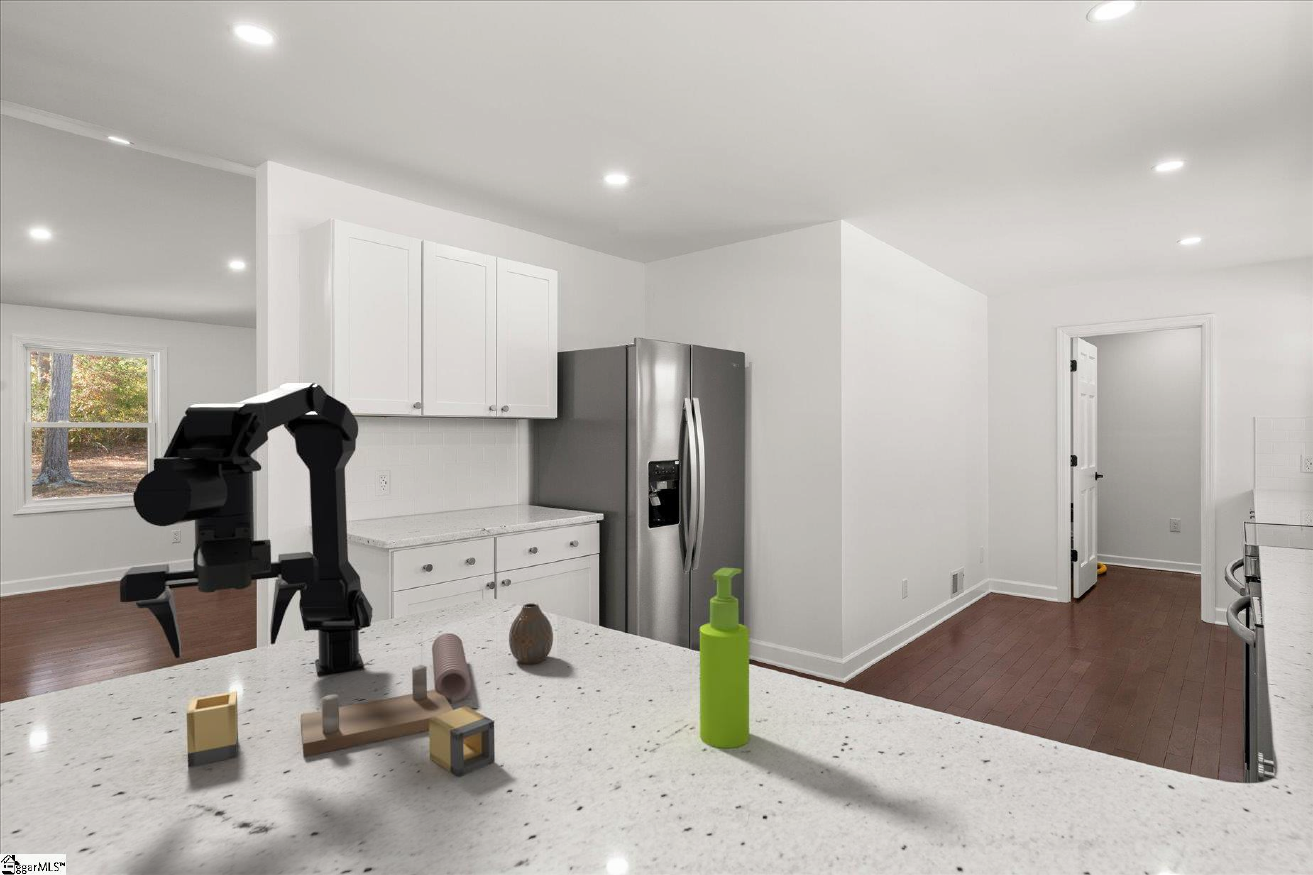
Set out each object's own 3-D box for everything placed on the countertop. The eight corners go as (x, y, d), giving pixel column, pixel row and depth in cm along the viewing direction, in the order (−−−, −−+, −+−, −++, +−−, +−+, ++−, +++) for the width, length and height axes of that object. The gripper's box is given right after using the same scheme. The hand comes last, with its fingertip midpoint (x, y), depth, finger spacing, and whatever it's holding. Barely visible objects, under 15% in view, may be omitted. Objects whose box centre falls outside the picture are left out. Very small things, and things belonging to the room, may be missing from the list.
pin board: (300, 726, 87) (299, 682, 87) (440, 699, 96) (439, 659, 95) (303, 756, 80) (302, 708, 79) (455, 724, 88) (454, 681, 88)
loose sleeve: (192, 749, 81) (190, 698, 81) (238, 740, 84) (237, 691, 83) (188, 766, 77) (186, 713, 77) (236, 757, 80) (235, 704, 79)
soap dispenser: (757, 727, 86) (757, 566, 86) (740, 752, 80) (739, 578, 80) (713, 719, 89) (712, 563, 88) (692, 742, 83) (692, 574, 82)
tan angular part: (457, 734, 75) (429, 718, 79) (458, 777, 75) (429, 758, 79) (494, 720, 78) (465, 705, 82) (494, 761, 78) (465, 744, 82)
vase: (560, 655, 113) (560, 601, 113) (540, 669, 107) (539, 612, 107) (523, 650, 116) (522, 598, 115) (500, 664, 109) (500, 609, 109)
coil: (472, 669, 95) (463, 631, 112) (436, 669, 94) (433, 631, 111) (468, 703, 95) (460, 660, 112) (433, 704, 94) (430, 660, 111)
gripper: (110, 529, 68) (113, 689, 68) (323, 515, 78) (324, 655, 78) (125, 516, 77) (128, 657, 78) (312, 505, 87) (314, 630, 87)
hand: (226, 650), depth 80 cm, fingers open, 9 cm apart
